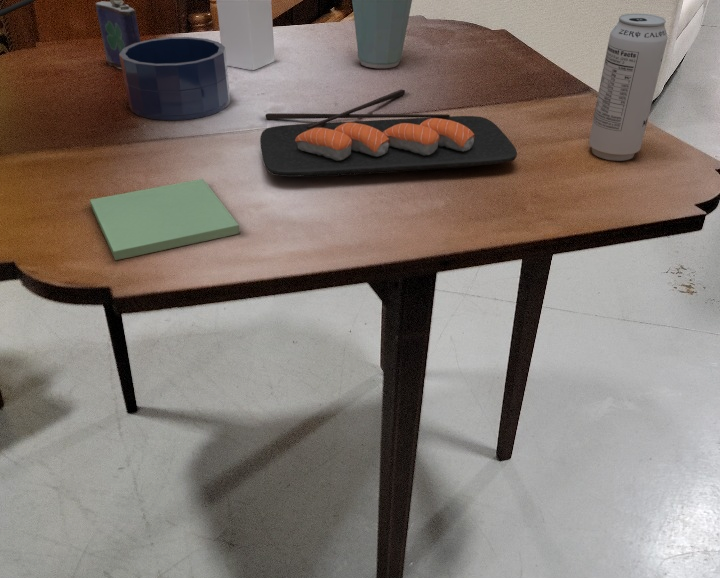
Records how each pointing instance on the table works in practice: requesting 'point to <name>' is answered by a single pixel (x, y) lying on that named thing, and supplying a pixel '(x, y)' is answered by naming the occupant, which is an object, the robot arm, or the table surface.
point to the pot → (175, 78)
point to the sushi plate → (381, 143)
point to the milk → (246, 32)
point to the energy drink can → (627, 85)
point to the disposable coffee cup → (380, 31)
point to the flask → (117, 28)
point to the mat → (162, 218)
